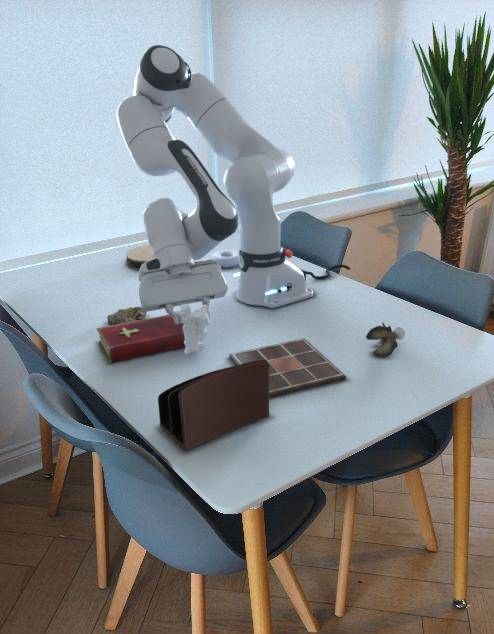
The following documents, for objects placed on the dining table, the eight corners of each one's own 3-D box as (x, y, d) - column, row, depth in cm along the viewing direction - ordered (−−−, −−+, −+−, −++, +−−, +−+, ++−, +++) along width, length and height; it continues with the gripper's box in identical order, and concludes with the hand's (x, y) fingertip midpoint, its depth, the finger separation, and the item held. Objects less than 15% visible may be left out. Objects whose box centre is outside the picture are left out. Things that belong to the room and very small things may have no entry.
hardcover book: (195, 346, 148) (194, 330, 146) (110, 364, 141) (107, 348, 139) (179, 326, 158) (178, 312, 155) (98, 342, 150) (96, 327, 148)
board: (304, 342, 150) (304, 337, 149) (345, 380, 135) (346, 375, 134) (229, 358, 143) (229, 353, 142) (264, 399, 128) (264, 394, 127)
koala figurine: (186, 360, 137) (182, 316, 129) (171, 345, 141) (166, 302, 133) (217, 347, 141) (215, 303, 133) (202, 333, 145) (199, 290, 137)
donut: (237, 257, 202) (208, 260, 200) (237, 247, 201) (208, 249, 198) (245, 267, 194) (215, 270, 192) (245, 257, 193) (215, 259, 190)
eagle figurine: (372, 333, 152) (357, 340, 144) (391, 313, 147) (377, 320, 140) (392, 355, 150) (379, 364, 143) (412, 336, 146) (400, 344, 139)
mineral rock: (140, 301, 165) (148, 304, 158) (143, 317, 167) (151, 320, 160) (101, 310, 161) (108, 314, 154) (105, 326, 163) (112, 330, 156)
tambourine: (185, 258, 201) (184, 250, 199) (154, 273, 190) (153, 264, 188) (148, 250, 208) (148, 242, 206) (116, 264, 197) (115, 255, 195)
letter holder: (270, 417, 122) (270, 355, 115) (185, 452, 113) (179, 388, 105) (242, 395, 129) (241, 336, 121) (159, 427, 119) (152, 365, 112)
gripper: (214, 264, 146) (231, 317, 144) (131, 278, 139) (147, 334, 137) (220, 252, 140) (238, 307, 138) (134, 266, 133) (151, 323, 131)
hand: (192, 320), depth 137 cm, fingers closed on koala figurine, 5 cm apart
